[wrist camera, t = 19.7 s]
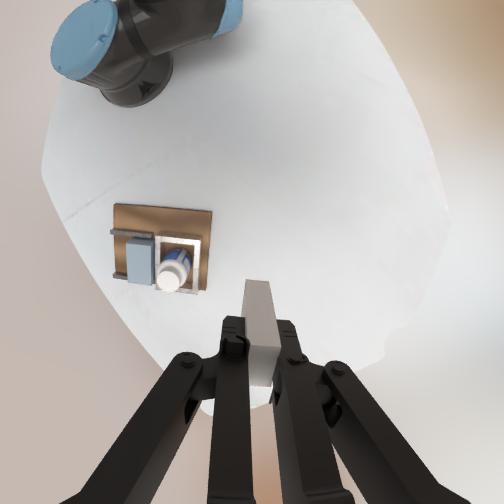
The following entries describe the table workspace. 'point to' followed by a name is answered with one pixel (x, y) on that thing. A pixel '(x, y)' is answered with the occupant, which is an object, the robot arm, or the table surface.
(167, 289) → the pill bottle
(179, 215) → the board
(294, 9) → the table surface
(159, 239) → the socket
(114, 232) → the rails
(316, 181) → the table surface
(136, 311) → the table surface
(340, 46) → the table surface
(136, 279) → the block
